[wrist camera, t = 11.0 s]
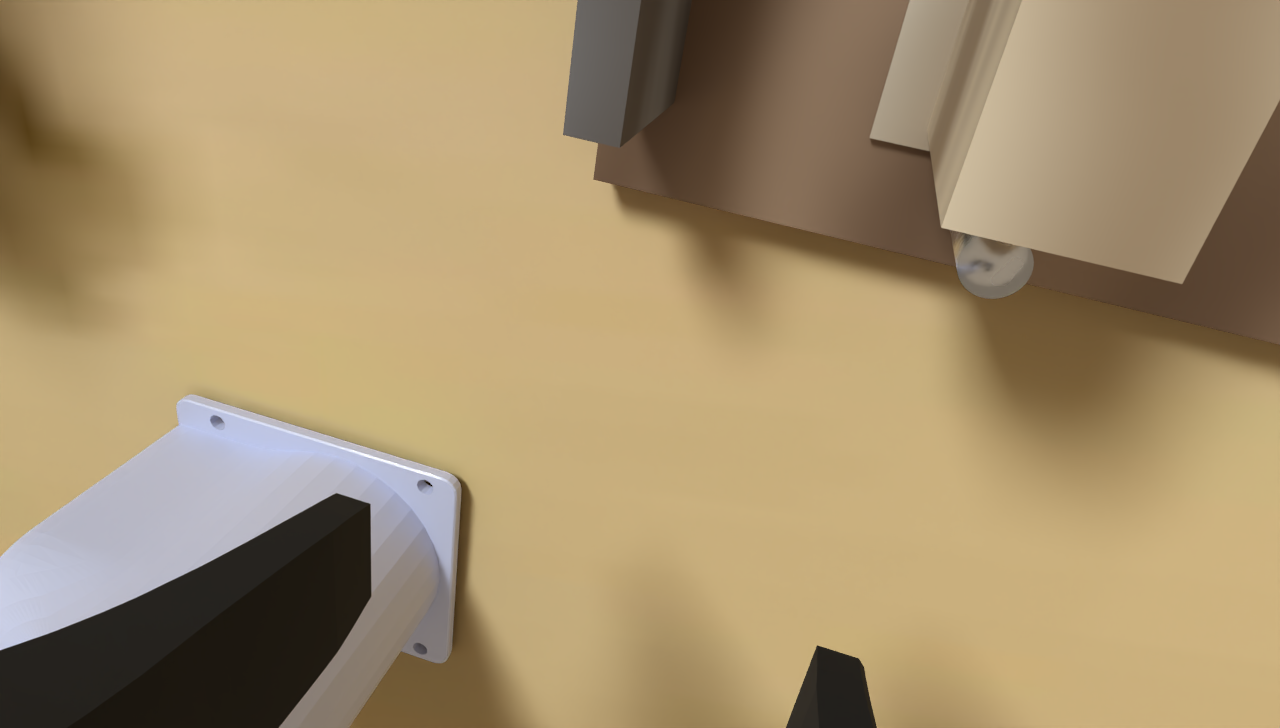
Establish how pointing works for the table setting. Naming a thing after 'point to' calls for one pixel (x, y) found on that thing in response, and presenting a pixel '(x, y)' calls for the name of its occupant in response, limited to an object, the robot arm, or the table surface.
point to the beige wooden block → (1102, 124)
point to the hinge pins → (991, 265)
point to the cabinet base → (855, 138)
